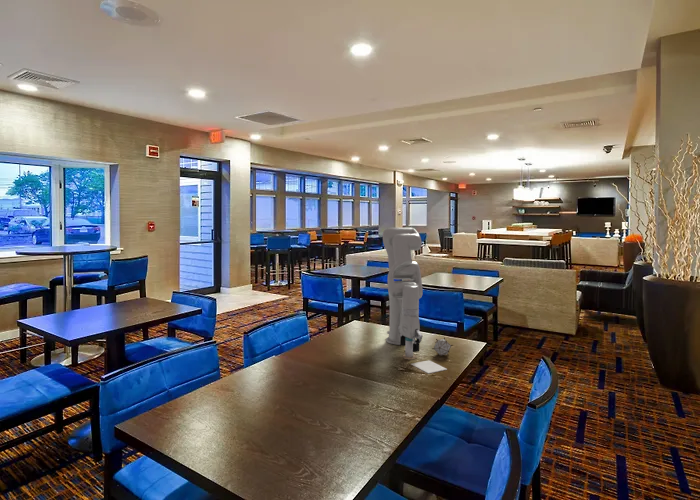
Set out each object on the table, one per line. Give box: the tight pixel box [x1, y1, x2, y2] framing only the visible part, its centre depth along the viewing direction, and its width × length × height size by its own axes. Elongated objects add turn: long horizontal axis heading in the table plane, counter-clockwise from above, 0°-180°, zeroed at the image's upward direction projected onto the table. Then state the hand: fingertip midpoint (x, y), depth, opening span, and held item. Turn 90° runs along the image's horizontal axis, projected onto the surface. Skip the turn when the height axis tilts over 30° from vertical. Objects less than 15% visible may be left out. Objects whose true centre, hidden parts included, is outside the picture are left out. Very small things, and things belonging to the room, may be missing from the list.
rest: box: [401, 354, 417, 361], centre depth 190 cm, size 6×6×1 cm
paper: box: [410, 359, 448, 374], centre depth 177 cm, size 12×10×1 cm
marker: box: [404, 337, 414, 358], centre depth 189 cm, size 4×4×9 cm
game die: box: [431, 337, 454, 358], centre depth 192 cm, size 9×8×10 cm
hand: (409, 348), depth 190 cm, fingers open, 9 cm apart
